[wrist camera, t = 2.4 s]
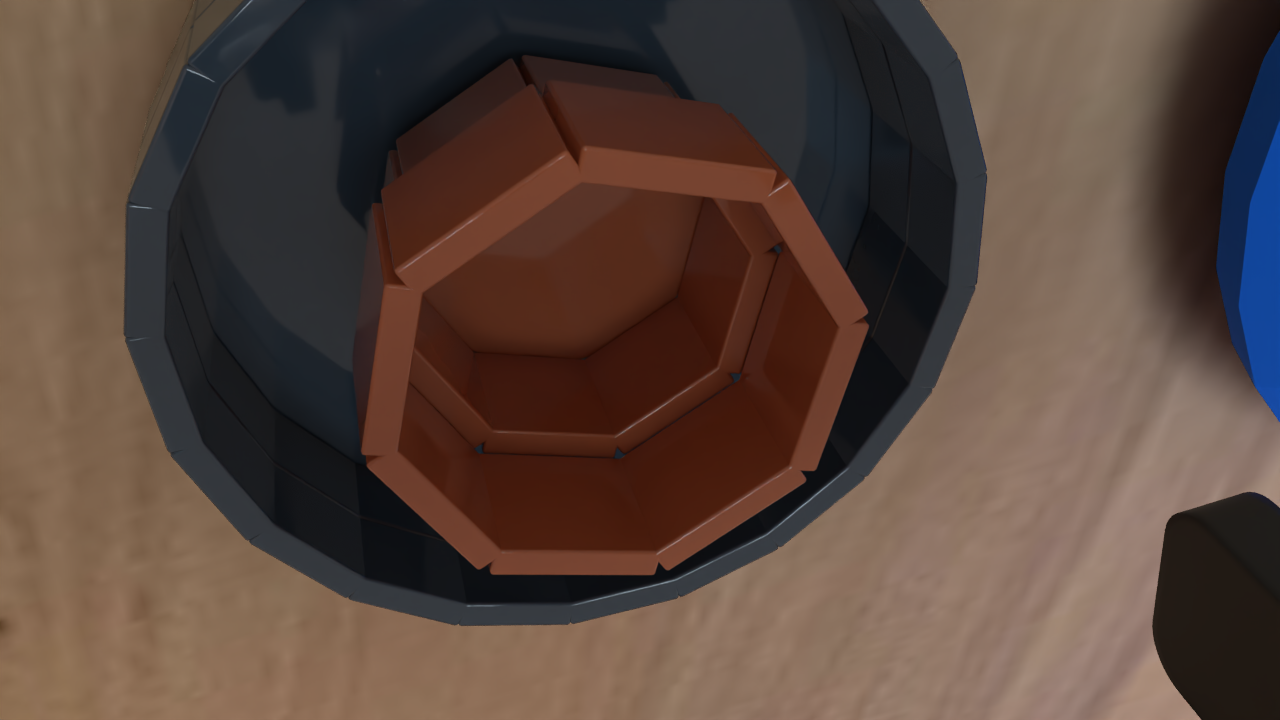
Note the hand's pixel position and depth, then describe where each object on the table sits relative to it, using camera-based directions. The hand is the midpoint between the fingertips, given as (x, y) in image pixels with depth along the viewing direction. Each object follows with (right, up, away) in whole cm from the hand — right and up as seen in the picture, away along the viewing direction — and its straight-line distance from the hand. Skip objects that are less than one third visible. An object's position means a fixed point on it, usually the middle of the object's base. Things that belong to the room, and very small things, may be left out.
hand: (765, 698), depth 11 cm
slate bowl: (-3, +6, +9) cm, 11 cm away
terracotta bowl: (-3, +5, +8) cm, 10 cm away
